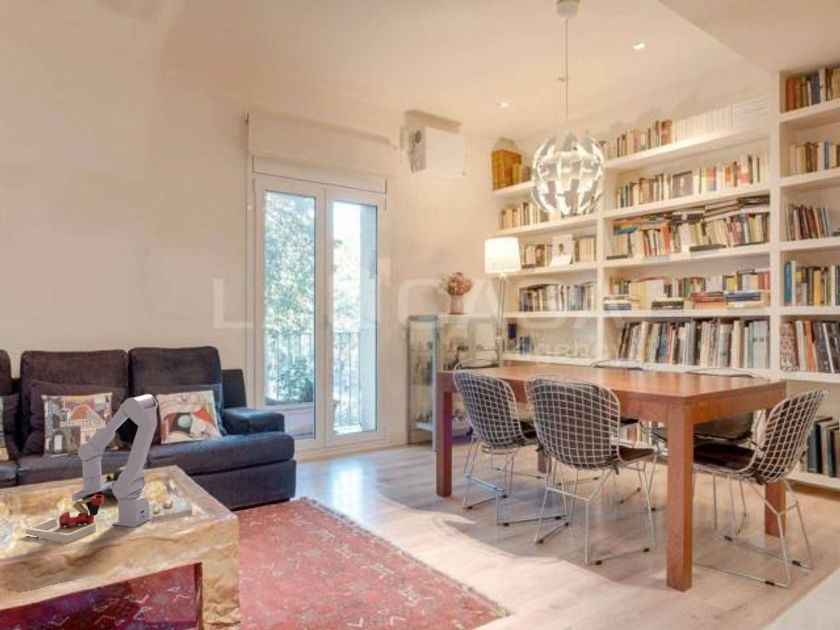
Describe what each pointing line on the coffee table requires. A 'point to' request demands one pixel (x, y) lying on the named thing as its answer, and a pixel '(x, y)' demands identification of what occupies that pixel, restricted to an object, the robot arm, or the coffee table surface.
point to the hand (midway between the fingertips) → (93, 514)
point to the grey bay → (42, 532)
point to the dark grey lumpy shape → (112, 481)
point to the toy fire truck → (83, 515)
